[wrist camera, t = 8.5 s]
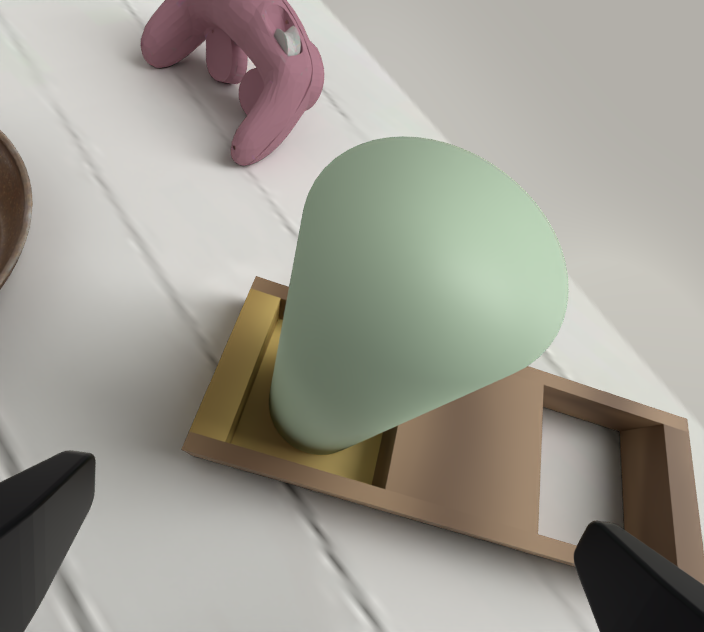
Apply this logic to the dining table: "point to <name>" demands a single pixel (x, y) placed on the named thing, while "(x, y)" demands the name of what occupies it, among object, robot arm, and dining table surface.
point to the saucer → (12, 207)
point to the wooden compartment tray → (454, 450)
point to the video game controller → (244, 61)
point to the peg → (409, 291)
